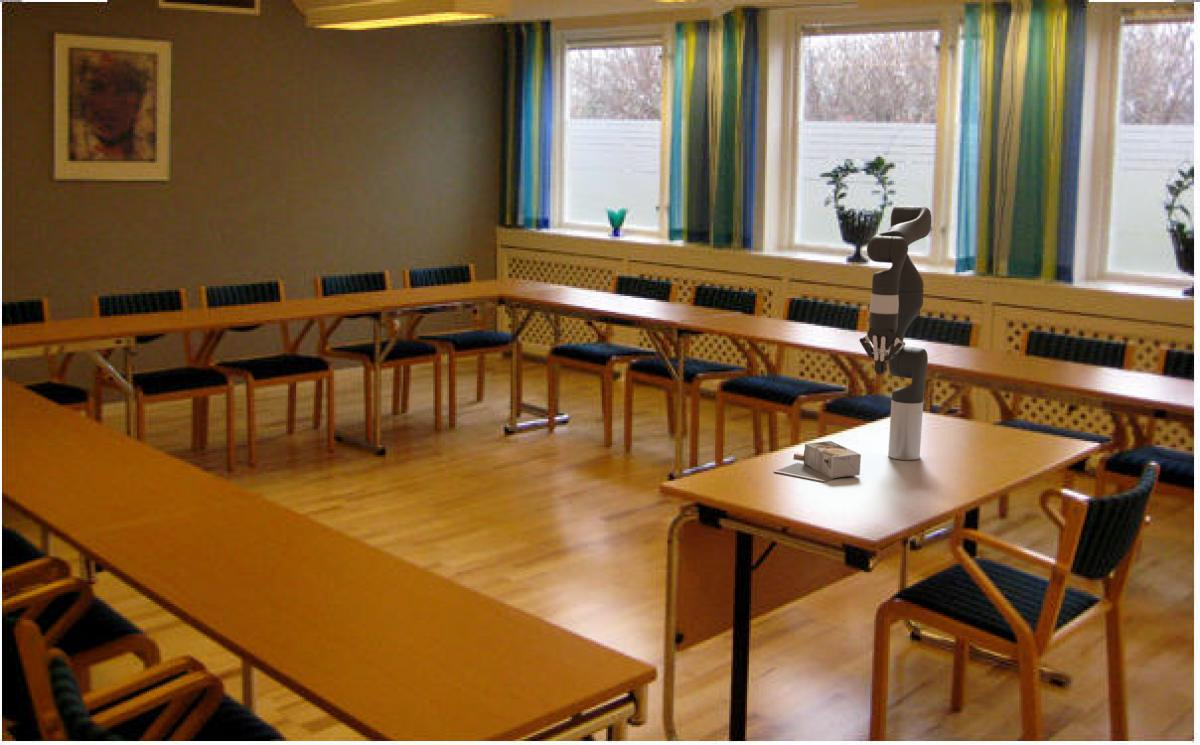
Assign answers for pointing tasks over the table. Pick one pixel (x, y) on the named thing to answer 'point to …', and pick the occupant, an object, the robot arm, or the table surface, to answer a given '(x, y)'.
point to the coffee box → (832, 459)
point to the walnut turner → (799, 456)
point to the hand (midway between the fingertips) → (880, 374)
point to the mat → (803, 472)
